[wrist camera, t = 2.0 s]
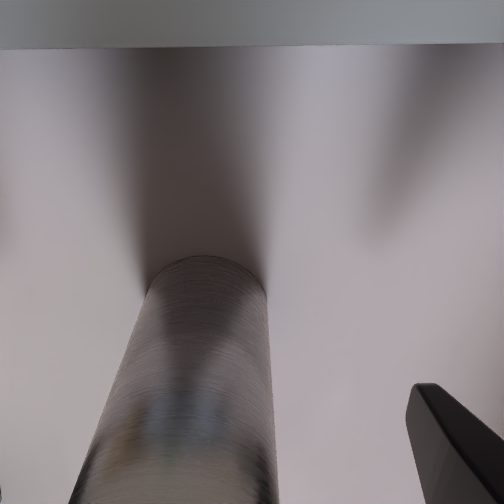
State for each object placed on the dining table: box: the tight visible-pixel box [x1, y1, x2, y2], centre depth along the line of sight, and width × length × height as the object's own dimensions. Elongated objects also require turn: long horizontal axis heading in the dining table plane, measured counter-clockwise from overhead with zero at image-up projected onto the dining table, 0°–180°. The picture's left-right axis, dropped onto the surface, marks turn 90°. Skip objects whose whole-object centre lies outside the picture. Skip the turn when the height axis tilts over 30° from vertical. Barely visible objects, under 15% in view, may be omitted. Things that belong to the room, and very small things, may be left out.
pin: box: [68, 256, 280, 504], centre depth 7 cm, size 3×3×8 cm
